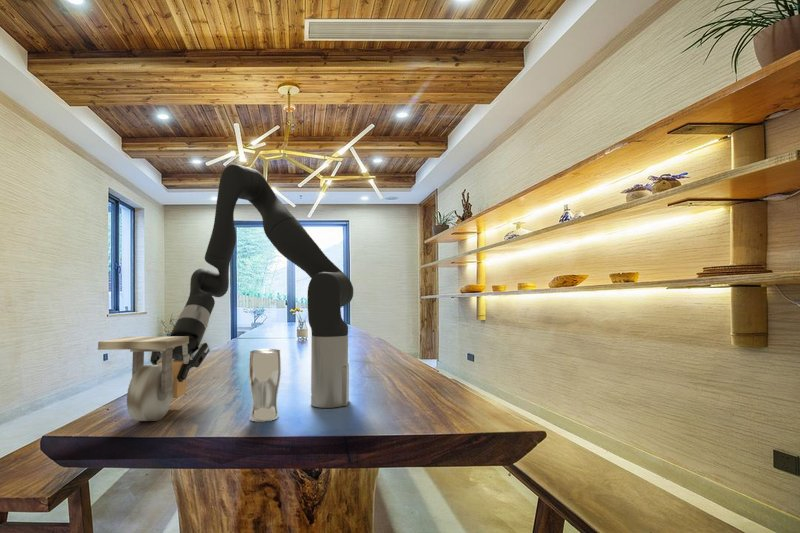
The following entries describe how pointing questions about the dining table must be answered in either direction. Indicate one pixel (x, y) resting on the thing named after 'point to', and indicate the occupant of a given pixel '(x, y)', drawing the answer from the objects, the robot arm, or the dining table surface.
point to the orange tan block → (178, 386)
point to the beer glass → (264, 383)
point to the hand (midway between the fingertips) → (167, 379)
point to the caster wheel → (148, 374)
